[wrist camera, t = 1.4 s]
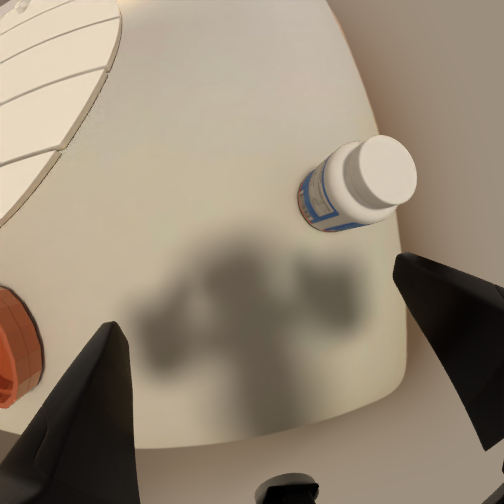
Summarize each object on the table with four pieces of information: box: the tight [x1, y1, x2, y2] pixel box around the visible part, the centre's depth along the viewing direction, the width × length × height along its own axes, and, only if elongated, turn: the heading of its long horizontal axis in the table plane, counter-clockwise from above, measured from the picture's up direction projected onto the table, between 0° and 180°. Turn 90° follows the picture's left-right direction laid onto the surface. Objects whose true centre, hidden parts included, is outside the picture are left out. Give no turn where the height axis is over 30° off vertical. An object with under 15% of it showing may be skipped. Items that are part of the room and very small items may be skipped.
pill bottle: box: [299, 135, 417, 232], centre depth 18 cm, size 6×5×10 cm
